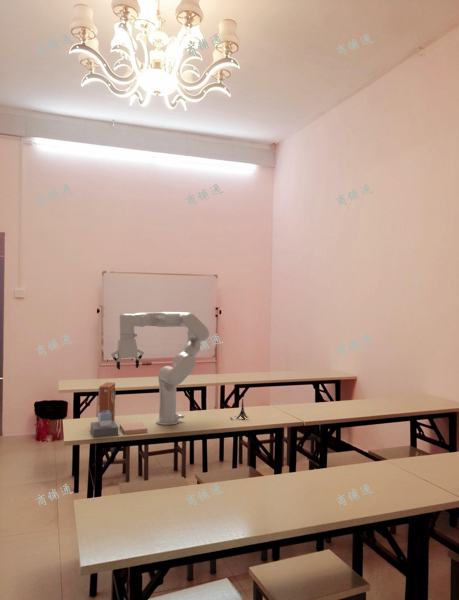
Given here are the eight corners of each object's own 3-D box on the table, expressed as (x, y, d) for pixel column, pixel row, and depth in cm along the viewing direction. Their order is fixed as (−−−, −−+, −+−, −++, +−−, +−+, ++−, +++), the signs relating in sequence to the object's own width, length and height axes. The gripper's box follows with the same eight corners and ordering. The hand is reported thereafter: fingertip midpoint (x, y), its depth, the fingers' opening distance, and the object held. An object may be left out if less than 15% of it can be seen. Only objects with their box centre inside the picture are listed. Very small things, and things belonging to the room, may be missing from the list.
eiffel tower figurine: (252, 416, 282) (253, 394, 282) (256, 421, 272) (257, 398, 272) (228, 417, 279) (228, 395, 279) (231, 421, 269) (232, 398, 269)
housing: (108, 422, 247) (108, 410, 247) (111, 426, 238) (111, 413, 238) (97, 423, 244) (98, 410, 244) (100, 427, 236) (100, 414, 236)
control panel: (116, 419, 269) (109, 426, 254) (104, 419, 269) (96, 426, 254) (116, 382, 269) (109, 386, 254) (104, 382, 269) (97, 386, 254)
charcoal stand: (113, 428, 250) (114, 420, 250) (118, 435, 237) (118, 427, 237) (90, 430, 245) (90, 422, 245) (93, 437, 233) (93, 429, 233)
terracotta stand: (141, 425, 256) (141, 422, 256) (147, 432, 243) (147, 428, 243) (119, 427, 251) (119, 423, 251) (124, 434, 238) (124, 430, 238)
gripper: (141, 335, 258) (142, 366, 258) (109, 337, 251) (110, 368, 251) (144, 336, 251) (145, 368, 251) (111, 338, 244) (112, 370, 244)
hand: (127, 368), depth 251 cm, fingers open, 9 cm apart
